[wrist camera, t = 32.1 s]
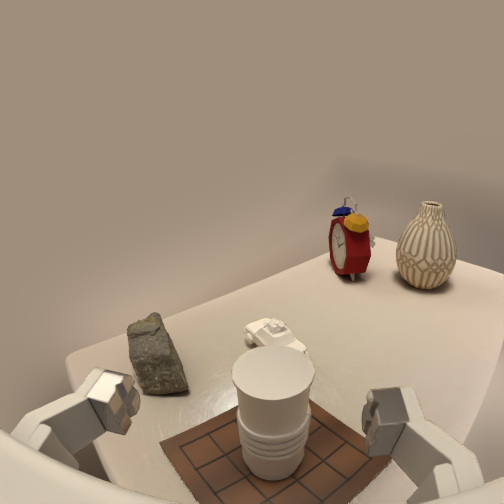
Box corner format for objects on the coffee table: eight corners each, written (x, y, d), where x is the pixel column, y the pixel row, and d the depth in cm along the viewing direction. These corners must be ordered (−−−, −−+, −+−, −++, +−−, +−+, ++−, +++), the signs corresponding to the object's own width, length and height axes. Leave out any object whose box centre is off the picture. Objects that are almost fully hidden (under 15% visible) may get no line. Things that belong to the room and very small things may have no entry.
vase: (426, 303, 60) (440, 215, 53) (380, 277, 74) (387, 199, 67) (460, 285, 65) (474, 208, 58) (418, 264, 79) (426, 195, 72)
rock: (105, 333, 48) (149, 303, 53) (124, 359, 51) (165, 330, 56) (139, 389, 36) (197, 347, 40) (163, 415, 39) (215, 376, 43)
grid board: (390, 461, 28) (393, 455, 27) (256, 567, 17) (256, 566, 16) (283, 385, 43) (283, 378, 42) (161, 447, 32) (158, 441, 32)
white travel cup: (307, 481, 26) (323, 396, 21) (242, 485, 26) (228, 402, 21) (300, 435, 33) (309, 342, 27) (243, 438, 33) (232, 346, 27)
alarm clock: (326, 262, 84) (328, 190, 77) (355, 260, 85) (359, 190, 78) (344, 286, 71) (349, 202, 63) (376, 283, 71) (384, 201, 64)
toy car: (269, 329, 57) (268, 298, 54) (310, 363, 47) (313, 329, 45) (241, 340, 54) (238, 308, 51) (280, 379, 44) (280, 344, 42)
